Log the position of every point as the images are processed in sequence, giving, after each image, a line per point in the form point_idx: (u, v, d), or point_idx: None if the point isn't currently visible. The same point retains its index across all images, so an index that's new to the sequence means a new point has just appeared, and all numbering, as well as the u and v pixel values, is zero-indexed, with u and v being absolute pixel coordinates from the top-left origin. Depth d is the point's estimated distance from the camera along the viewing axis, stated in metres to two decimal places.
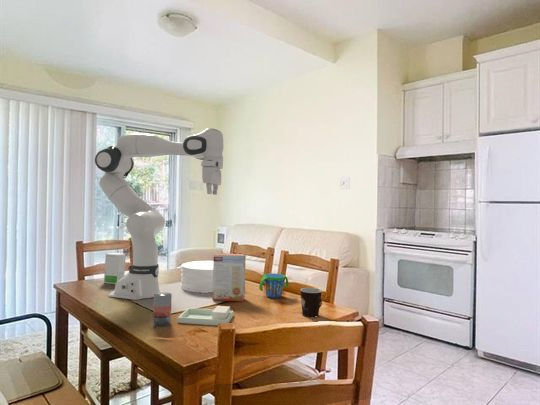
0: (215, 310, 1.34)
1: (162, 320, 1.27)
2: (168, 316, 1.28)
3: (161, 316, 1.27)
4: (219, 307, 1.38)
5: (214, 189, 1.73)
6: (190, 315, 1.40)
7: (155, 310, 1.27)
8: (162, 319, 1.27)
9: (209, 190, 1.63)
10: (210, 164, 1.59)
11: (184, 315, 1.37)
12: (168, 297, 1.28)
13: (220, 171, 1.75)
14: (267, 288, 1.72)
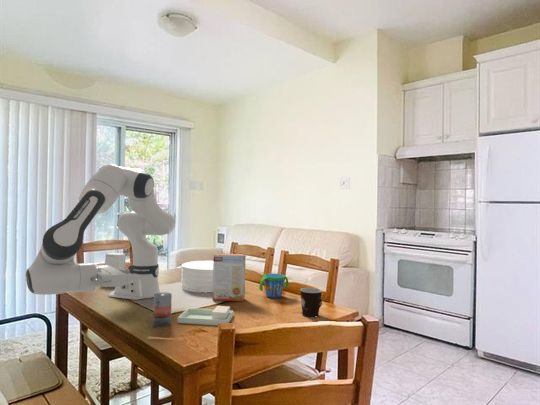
0: (215, 310, 1.34)
1: (162, 320, 1.27)
2: (168, 316, 1.28)
3: (161, 316, 1.27)
4: (219, 307, 1.38)
5: None
6: (190, 315, 1.40)
7: (155, 310, 1.27)
8: (162, 319, 1.27)
9: None
10: None
11: (184, 315, 1.37)
12: (168, 297, 1.28)
13: None
14: (267, 288, 1.72)
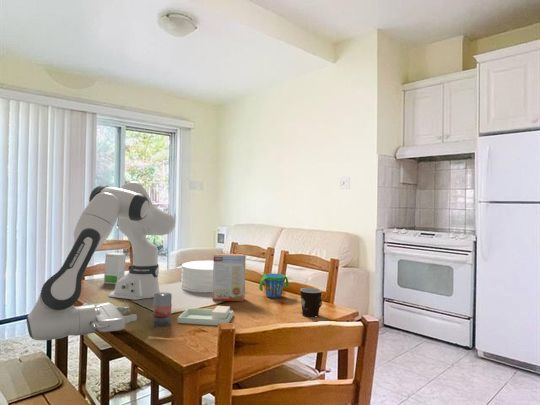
0: (215, 310, 1.34)
1: (162, 320, 1.27)
2: (168, 316, 1.28)
3: (161, 316, 1.27)
4: (219, 307, 1.38)
5: None
6: (190, 315, 1.40)
7: (155, 310, 1.27)
8: (162, 319, 1.27)
9: None
10: None
11: (184, 315, 1.37)
12: (168, 297, 1.28)
13: None
14: (267, 288, 1.72)
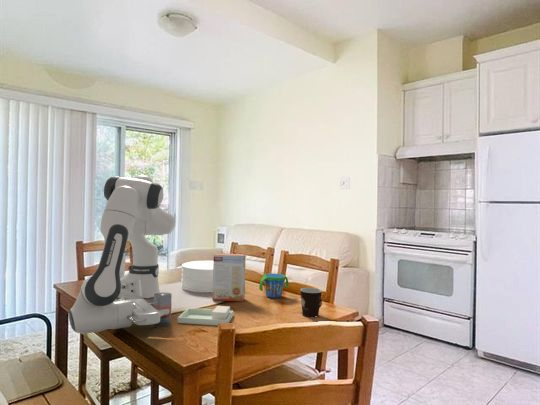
0: (215, 310, 1.34)
1: (161, 320, 1.27)
2: (168, 316, 1.28)
3: (161, 316, 1.27)
4: (219, 307, 1.38)
5: None
6: (190, 315, 1.40)
7: None
8: (162, 319, 1.27)
9: None
10: None
11: (184, 315, 1.37)
12: (168, 297, 1.28)
13: None
14: (267, 288, 1.72)
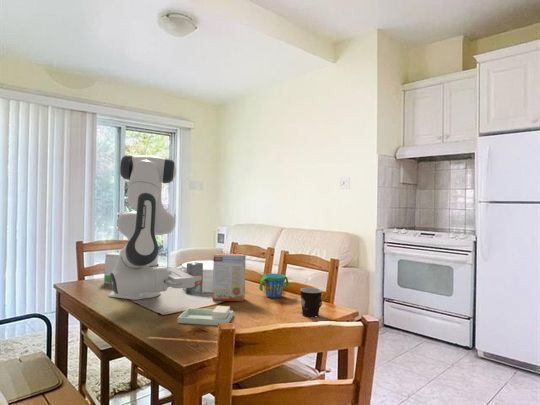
0: (215, 310, 1.34)
1: (194, 287, 1.33)
2: (200, 284, 1.35)
3: None
4: (219, 307, 1.38)
5: None
6: (190, 315, 1.40)
7: None
8: (194, 286, 1.33)
9: None
10: None
11: (184, 315, 1.37)
12: (200, 266, 1.35)
13: None
14: (267, 288, 1.72)
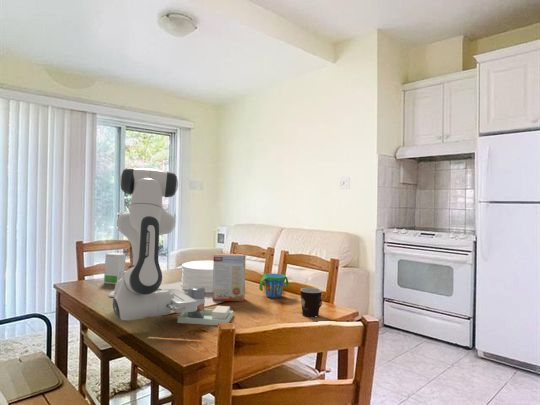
0: (215, 310, 1.34)
1: (196, 313, 1.34)
2: (202, 309, 1.35)
3: None
4: (219, 307, 1.38)
5: None
6: None
7: None
8: (196, 312, 1.34)
9: None
10: None
11: (184, 315, 1.37)
12: (202, 291, 1.35)
13: None
14: (267, 288, 1.72)
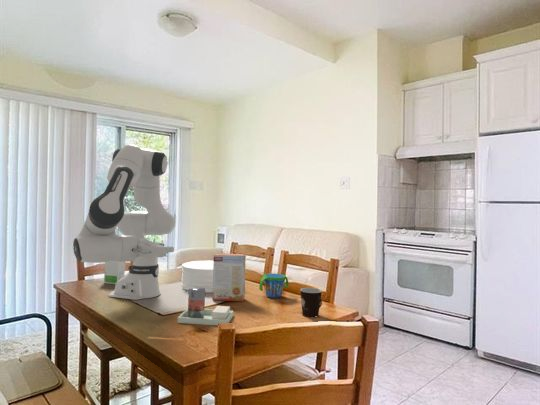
0: (215, 310, 1.34)
1: (196, 313, 1.34)
2: (202, 309, 1.35)
3: (195, 310, 1.34)
4: (219, 307, 1.38)
5: None
6: None
7: (190, 304, 1.34)
8: (196, 312, 1.34)
9: None
10: None
11: (184, 315, 1.37)
12: (202, 291, 1.35)
13: None
14: (267, 288, 1.72)
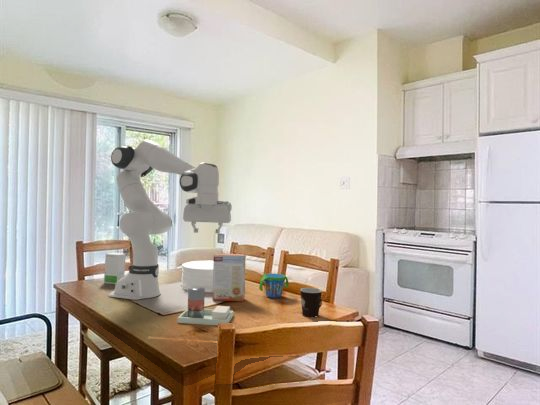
0: (215, 310, 1.34)
1: (196, 313, 1.34)
2: (202, 309, 1.35)
3: (195, 310, 1.34)
4: (219, 307, 1.38)
5: None
6: None
7: (190, 304, 1.34)
8: (196, 312, 1.34)
9: None
10: None
11: (184, 315, 1.37)
12: (202, 291, 1.35)
13: (223, 207, 1.54)
14: (267, 288, 1.72)
